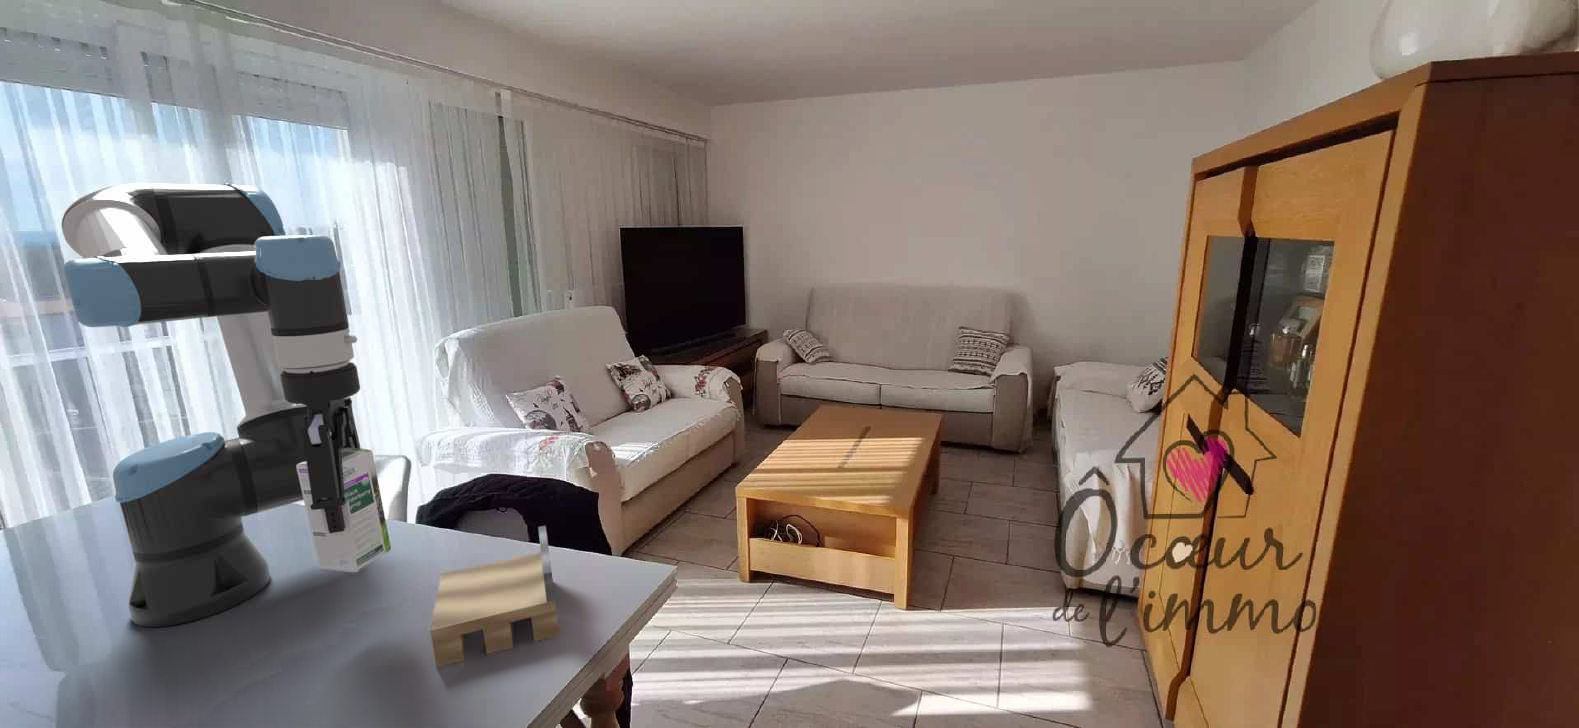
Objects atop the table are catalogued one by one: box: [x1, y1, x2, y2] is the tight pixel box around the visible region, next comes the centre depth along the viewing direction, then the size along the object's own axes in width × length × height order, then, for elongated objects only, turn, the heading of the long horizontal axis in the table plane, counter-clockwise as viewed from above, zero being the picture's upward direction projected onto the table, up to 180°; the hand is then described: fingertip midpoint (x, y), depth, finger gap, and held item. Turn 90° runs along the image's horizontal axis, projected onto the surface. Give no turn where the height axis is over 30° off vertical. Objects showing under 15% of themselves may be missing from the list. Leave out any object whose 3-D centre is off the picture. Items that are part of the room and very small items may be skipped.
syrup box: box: [296, 447, 392, 573], centre depth 81 cm, size 6×6×14 cm
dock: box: [429, 525, 560, 668], centre depth 84 cm, size 14×14×9 cm
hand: (351, 537), depth 82 cm, fingers closed on syrup box, 7 cm apart
